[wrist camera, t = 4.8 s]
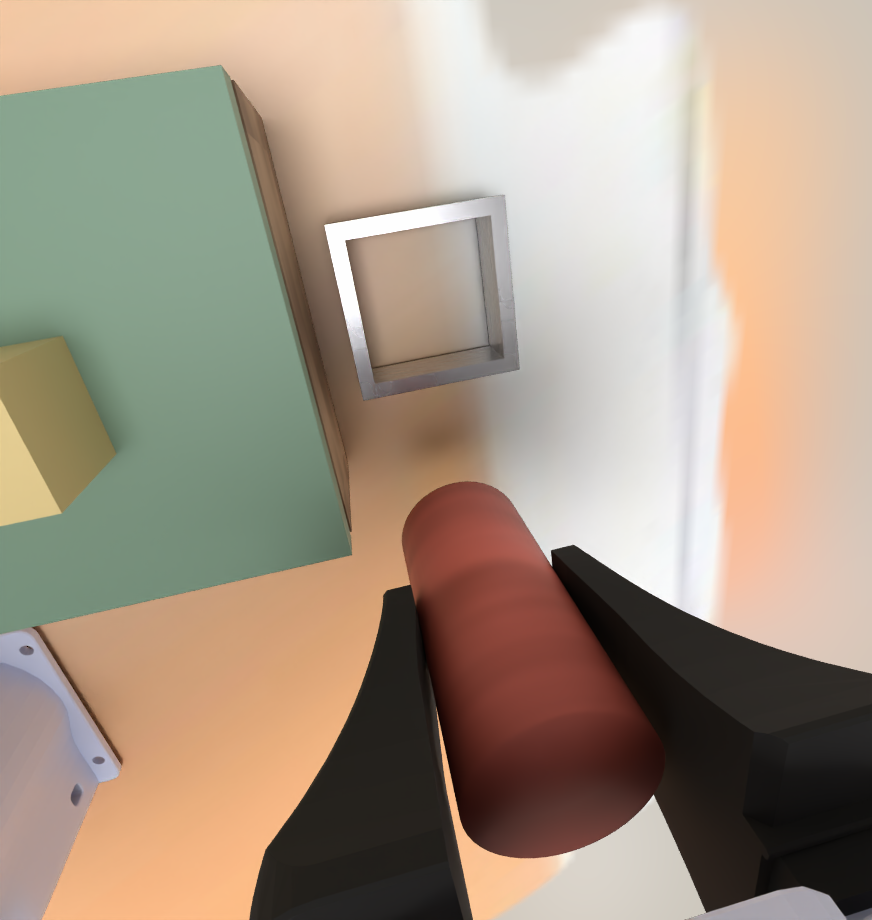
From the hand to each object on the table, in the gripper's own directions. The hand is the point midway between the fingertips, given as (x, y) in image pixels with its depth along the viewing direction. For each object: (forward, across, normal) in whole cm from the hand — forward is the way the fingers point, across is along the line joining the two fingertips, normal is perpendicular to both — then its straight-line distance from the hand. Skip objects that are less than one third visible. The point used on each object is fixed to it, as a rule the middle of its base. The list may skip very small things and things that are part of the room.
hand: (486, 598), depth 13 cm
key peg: (+3, 0, 0) cm, 3 cm away
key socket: (+9, -1, -6) cm, 11 cm away
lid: (+4, +10, -6) cm, 13 cm away
